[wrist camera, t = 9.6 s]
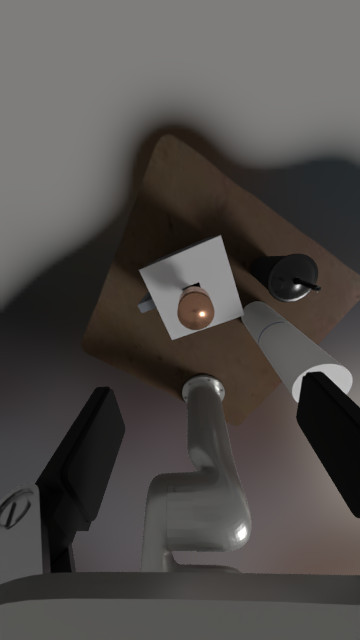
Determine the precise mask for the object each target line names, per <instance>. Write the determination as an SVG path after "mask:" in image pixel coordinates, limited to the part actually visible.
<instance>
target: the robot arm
mask: <svg viewBox="0 0 360 640" xmlns="http://www.w3.org/2000/svg"><path fill="white" fill-rule="evenodd" d="M224 395H225V391H224V387H223V385H222V383H221V382H220V381H219V380H218V379H216V378H215V377H212V376H209V375H198V376H195V377H192V378H190V379H189V380H188V381H187V382H186V383H185V384H184V386H183V389H182V396H183V399H184V401H185V402H186V403H187V450H188V455H189V458H190V460H191V462H192V463H193V465H194V467H195V468H196V469H197V471H196V472H179V473H162V474H159V475H157V476H155V477H154V478H153V479H152V481H151V483H150V485H149V489H148V492H147V498H146V506H145V517H144V531H143V544H142V557H141V570H140V572H76V567H75V560H74V554H73V547H72V542H73V539H74V537H75V534H76V531H88V530H89V527H90V524H91V521H93V520H95V518H96V517H97V514H98V511H99V508H100V505H101V502H102V499H103V496H104V493H105V490H106V487H107V484H108V481H109V478H110V475H111V472H112V469H113V466H114V463H115V460H116V457H117V454H118V451H119V448H120V445H121V442H122V439H123V436H124V433H125V425H124V422H123V419H122V416H121V413H120V410H119V407H118V404H117V401H116V398H115V395H114V392H113V390H112V389H110V388H109V387H97V388H96V389H95V390H94V392H93V393H92V395H91V396H90V398H89V400H88V401H87V403H86V404H85V406H84V407H83V409H82V411H81V412H80V414H79V416H78V417H77V419H76V420H75V421H74V423H73V425H72V426H71V428H70V429H69V431H68V432H67V434H66V436H65V437H64V439H63V440H62V442H61V444H60V445H59V447H58V448H57V450H56V451H55V453H54V455H53V456H52V458H51V459H50V461H49V462H48V464H47V466H46V467H45V469H44V470H43V472H42V474H41V475H40V477H39V478H38V480H37V481H36V483H35V484H32V483H28V484H24V485H21V486H20V487H17V488H16V489H14V490H13V491H11V492H10V493H9V494H7V495H6V496H5V497H4V498H3V499H2V500H1V501H0V640H360V576H359V575H310V574H309V575H307V574H254V573H253V574H252V573H242V572H240V571H239V570H238V569H236V568H233V567H229V566H221V565H191V564H187V565H185V564H178V563H177V562H176V561H175V560H174V557H173V553H172V551H197V552H224V551H232V550H235V549H238V548H240V547H242V546H243V545H244V544H245V543H246V542H247V541H248V539H249V537H250V533H251V515H250V510H249V505H248V503H247V499H246V496H245V493H244V490H243V487H242V485H241V482H240V479H239V476H238V473H237V470H236V466H235V463H234V459H233V455H232V450H231V446H230V441H229V436H228V431H227V426H226V422H225V417H224V412H223V407H222V402H221V401H222V400H223V398H224ZM296 418H297V422H298V424H299V426H300V428H301V429H302V431H303V433H304V434H305V436H306V438H307V439H308V441H309V443H310V444H311V446H312V448H313V449H314V451H315V453H316V454H317V456H318V458H319V459H320V461H321V463H322V464H323V466H324V468H325V469H326V471H327V472H328V474H329V476H330V477H331V479H332V481H333V482H334V484H335V486H336V487H337V489H338V491H339V492H340V494H341V495H342V497H343V499H344V501H345V502H346V504H347V506H348V507H349V509H350V510H351V512H352V513H353V515H354V516H355V517H357V518H360V408H359V406H357V405H356V404H355V403H354V402H353V401H352V400H351V399H350V398H349V397H348V396H347V395H346V394H345V393H344V392H343V391H342V390H341V389H340V388H339V387H338V386H337V385H336V384H335V383H334V382H333V381H332V380H331V379H330V378H328V377H327V376H326V375H325V374H324V373H323V372H321V371H317V372H307V373H306V375H305V376H303V377H302V383H301V390H300V396H299V403H298V409H297V416H296Z"/></svg>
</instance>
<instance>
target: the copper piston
mask: <svg viewBox="0 0 360 640" xmlns="http://www.w3.org/2000/svg"><path fill="white" fill-rule="evenodd" d="M183 290H184V291H183V292H182V293H181V295H180V298H179V303H178V310H177V316H178V319H179V321H180V323H181V324H182V325H183V326H184V327H186V328H188V329H191V330H200V329H203V328H205V327H207V326H208V325H209V324H210V323H211V322H212V320H213V318H214V314H215V311H214V306H213V304H212V301H211V299H210V296H209V294H208V293H207V291H206V290H204V289H203V288H201V286H200V283H199V282H198V283H196V284H193V285H190V286H188V287H185V288H183Z"/></svg>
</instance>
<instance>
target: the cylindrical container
mask: <svg viewBox="0 0 360 640" xmlns="http://www.w3.org/2000/svg"><path fill="white" fill-rule="evenodd" d="M243 312H244V316H241V319H242V322H243V323H244V325H245V326H246V328H247V329H248V331H249V332H250V334H251V335H252V337H253V338H254V340H255V341H256V343H257V344H258V346H259V347H260V349H261V350H262V352H263V353H264V355H265V356H266V358H267V359H268V361H269V362H270V364H271V365H272V367H273V368H274V370H275V371H276V372H277V374H278V375H279V377H280V378H281V380H282V381H283V383H284V384H285V386H286V387H287V389H288V390H289V392H290V393H291V395H292V396H293V398H294V399H295V401H296V402H298V403H299V396H300V390H301V383H302V377H303V376H305V375H306V373H307V372H317V371H321V372H323V373H324V374H325V375H326V376H327V377H328V378H330V379H331V380H332V381H333V382H334V383H335V384H336V385H337V386H338V387H339V388H340V389H341V390H342V391H343V392H344V393H345V394H347V393H348V392H349V390H350V388H351V386H352V375H351V374H350V372H349V371H348V370H347V369H346V368H345V367H344V366H342V365H341V364H340V363H339V362H337V361H336V360H335V359H334V358H333V357H331V356H330V355H329V354H327V353H326V352H325V351H324V350H323V349H321V348H320V347H319V346H318V345H316V344H315V343H314V342H313V341H312V340H310V339H309V338H308V337H307V336H305V335H304V334H303V333H302V332H300V331H299V330H298V329H297V328H295V327H294V326H293V325H292V324H291V323H289V322H288V321H287V320H286V319H284V318H283V317H282V316H281V315H279V314H278V313H277V312H276V311H274V310H273V309H272V308H271V307H270V306H268V305H267V304H266V303H264V302H261V301H255V302H251V303H249V304H248V305H247V306H245V308H244V309H243Z"/></svg>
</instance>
